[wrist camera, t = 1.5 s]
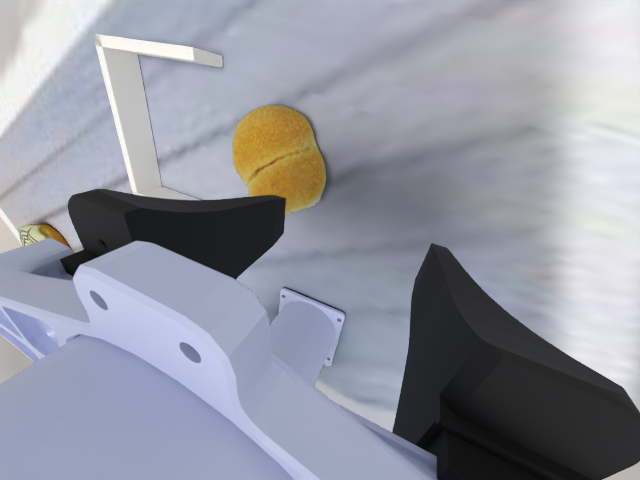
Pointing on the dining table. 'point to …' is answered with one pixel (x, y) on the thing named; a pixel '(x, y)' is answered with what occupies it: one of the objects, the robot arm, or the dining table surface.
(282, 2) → the dining table surface
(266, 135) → the bread roll
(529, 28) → the dining table surface
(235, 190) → the dining table surface
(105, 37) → the tray
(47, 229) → the decorated donut
